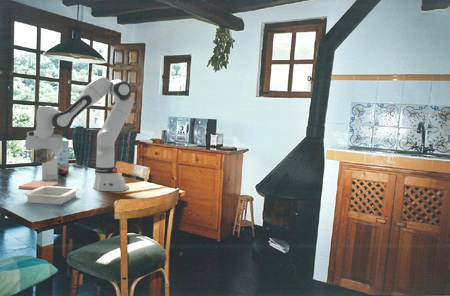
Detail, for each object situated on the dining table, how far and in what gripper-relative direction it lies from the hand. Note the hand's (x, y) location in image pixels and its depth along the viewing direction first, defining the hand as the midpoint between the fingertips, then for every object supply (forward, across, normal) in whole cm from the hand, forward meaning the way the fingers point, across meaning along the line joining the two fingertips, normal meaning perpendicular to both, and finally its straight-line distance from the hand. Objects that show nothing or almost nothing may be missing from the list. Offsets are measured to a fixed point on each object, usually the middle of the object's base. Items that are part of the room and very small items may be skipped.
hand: (44, 156), depth 187 cm
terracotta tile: (+21, +9, -12) cm, 26 cm away
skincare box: (+21, +13, -34) cm, 42 cm away
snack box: (+22, +20, -65) cm, 71 cm away
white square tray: (+21, -12, +14) cm, 28 cm away
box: (+3, 0, -1) cm, 3 cm away
